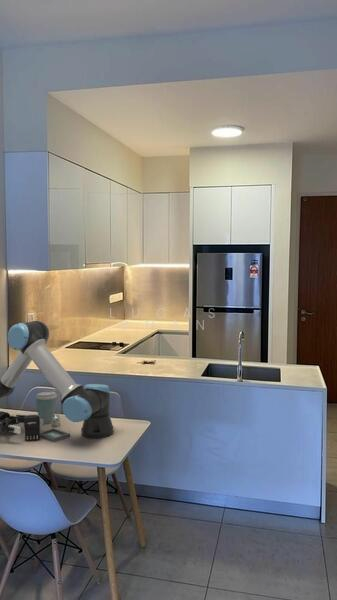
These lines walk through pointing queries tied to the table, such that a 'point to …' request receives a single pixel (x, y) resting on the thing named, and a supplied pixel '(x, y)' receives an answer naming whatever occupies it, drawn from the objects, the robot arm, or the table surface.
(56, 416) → the short grey cell
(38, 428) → the battery charger
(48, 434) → the dock
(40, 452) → the table surface
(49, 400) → the disposable coffee cup
